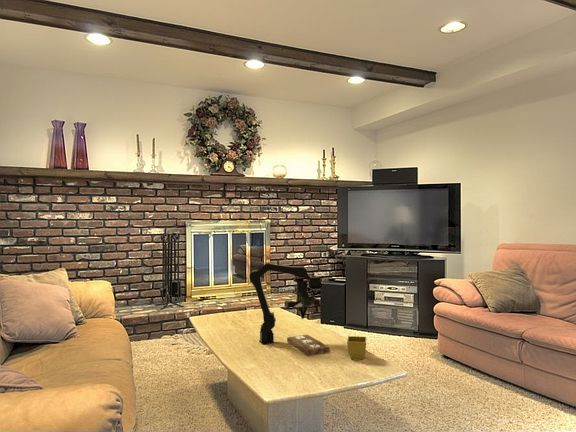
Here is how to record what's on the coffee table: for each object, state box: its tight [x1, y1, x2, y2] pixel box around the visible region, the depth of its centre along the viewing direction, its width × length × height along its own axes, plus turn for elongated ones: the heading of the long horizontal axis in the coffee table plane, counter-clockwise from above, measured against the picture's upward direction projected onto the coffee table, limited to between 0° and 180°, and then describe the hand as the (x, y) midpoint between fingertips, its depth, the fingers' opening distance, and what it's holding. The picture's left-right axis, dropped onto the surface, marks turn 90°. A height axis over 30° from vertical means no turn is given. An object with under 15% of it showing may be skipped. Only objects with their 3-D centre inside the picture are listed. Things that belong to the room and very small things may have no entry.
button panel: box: [286, 334, 330, 357], centre depth 214 cm, size 12×25×2 cm, turn 24°
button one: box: [295, 335, 305, 340], centre depth 222 cm, size 4×4×3 cm
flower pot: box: [346, 335, 367, 361], centre depth 195 cm, size 9×9×9 cm
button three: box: [310, 344, 320, 348], centre depth 207 cm, size 4×4×3 cm
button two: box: [302, 340, 313, 344], centre depth 214 cm, size 4×4×3 cm
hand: (302, 318), depth 225 cm, fingers closed
